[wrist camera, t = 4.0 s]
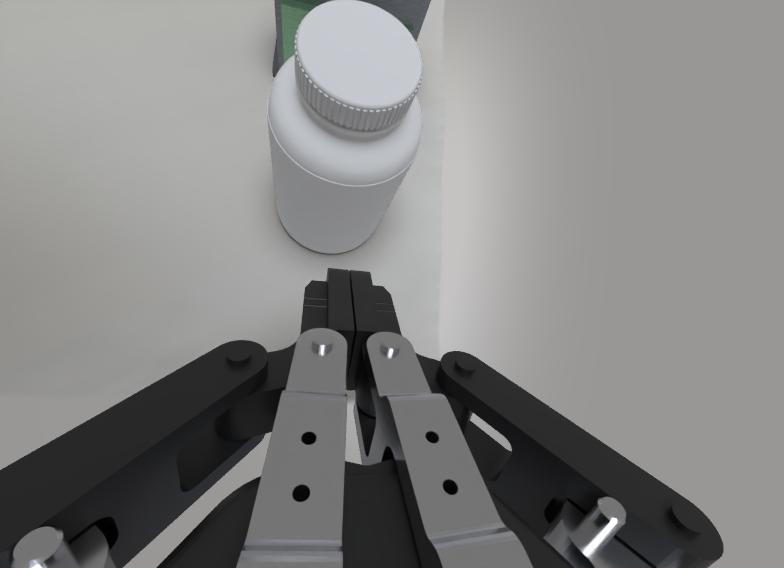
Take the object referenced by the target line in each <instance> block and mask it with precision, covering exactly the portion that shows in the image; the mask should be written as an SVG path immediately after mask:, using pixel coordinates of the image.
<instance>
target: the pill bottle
mask: <svg viewBox="0 0 784 568" xmlns="http://www.w3.org/2000/svg"><path fill="white" fill-rule="evenodd" d="M422 70H423V65H422V58H421V54H420V51H419V48H418V45H417V43H416V41H415V39H414V38H413V36H412V35H411V33H410V32H409V31H408V29H407V28H406V27H405V26H404V25H403V24H402V23H401V22H400V21H399V20H398V19H397V18H395V17H394V16H393V15H391V14H390V13H388V12H387V11H385V10H383V9H381V8H379V7H377V6H375V5H372V4H369V3H366V2H362V1H357V0H334V1H329V2H326V3H323V4H321V5H319V6H317V7H315V8H314V9H313V10H311V11H310V12H309V13H308V14H307V15H306V16H305V17H304V19H303V20H302V21H301V24H299V26H298V29H297V32H296V35H295V55H293V56H292V57H291V58H289V59H288V60H287V61H286V62H285V63H284V64H283V66H282V67H281V68H280V70H279V71H278V73H277V74H276V76H275V78H274V80H273V83H272V86H271V88H270V91H269V95H268V101H267V118H268V128H269V138H270V148H271V158H272V168H273V178H274V188H275V198H276V207H277V211H278V215H279V217H280V220H281V222H282V224H283V226H284V228H285V229H286V231H287V232H288V233H289V234H290V236H291V237H292V238H293V239H295V240H296V241H297V242H298V243H300V244H301V245H303V246H305V247H306V248H309V249H311V250H314V251H317V252H321V253H328V254H336V253H343V252H347V251H350V250H352V249H355V248H356V247H358V246H360V245H361V244H363V243H364V242H365V241H366V240H367V239H368V238H369V237H370V236H371V235H372V233H373V232H374V231H375V229H376V227H377V225H378V224H379V222H380V220H381V218H382V216H383V215H384V213H385V211H386V209H387V207H388V206H389V204H390V202H391V200H392V198H393V197H394V195H395V193H396V191H397V190H398V188H399V186H400V184H401V182H402V181H403V179H404V177H405V175H406V173H407V172H408V170H409V168H410V166H411V164H412V163H413V161H414V159H415V157H416V155H417V152H418V150H419V147H420V144H421V139H422V127H423V123H422V113H421V108H420V104H419V101H418V98H417V96H416V93H417V91H418V89H419V86H420V84H421V80H422V74H423V71H422Z"/></svg>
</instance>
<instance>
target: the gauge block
mask: <svg viewBox="0 0 784 568" xmlns="http://www.w3.org/2000/svg"><path fill="white" fill-rule="evenodd" d="M329 1H334V0H275V16H276V32H277V39H276V46H275V54H274V61H273V76H274V77H275V76H276V74H277V73H278V71H279V70H280V68H281V67H282V66H283V64H284V63H285V62H286V61H287V60H288V59H289V58H291V57H292V56H293V55H295V35H296V32H297V29H298V26H299V24H301V21H302V20H303V19H304V17H305V16H306V15H307V14H308V13H309V12H310V11H311V10H313V9H314V8H315V7H317V6H319V5H321V4H323V3H326V2H329ZM357 1H362V2H366V3H369V4H372V5H375V6H377V7H379V8H381V9H383V10H385V11H387V12H388V13H390V14H391V15H393V16H394V17H395V18H397V19H398V20H399V21H400V22H401V23H402V24H403V25H404V26H405V27H406V28H407V29H408V31H409V32H410V33H411V35H412V36H413V38H414V39H415V41H417V38H418V35H419V33H420V30H421V27H422V24H423V21H424V18H425V16H426V13H427V10H428V7H429V4H430V1H431V0H357Z"/></svg>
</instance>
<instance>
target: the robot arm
mask: <svg viewBox="0 0 784 568" xmlns="http://www.w3.org/2000/svg"><path fill="white" fill-rule="evenodd" d="M345 384H346V390H355V392H356V400H355V405H354V418H355V424H356V430H357V435H358V442H359V448H360V453H361V460H362V465H360V464H355V463H351V462H346V461H345V442H346V417H347V395H345ZM472 413H475V414H476V415H477V416H478V417H480V418H481V419H482V420H484V421H485V422H486V423H488V424H489V425H490V426H491V427H493V428H494V429H495V430H497V431H498V432H499V433H500V434H502V435H503V436H504V437H505V438H506V439H507V440H508V441H509V443H510V444H511V447H512V452H511V451H509V450H507V449H505V448H504V447H503V446H502V445H500V444H499V443H498V442H497V441H495V440H494V439H493V438H491V437H490V436H489V435H488V434H486V433H485V432H484V431H483V430H481V429H480V428H479V427H478V426H476V425H475V424H474V423H473V422H471V421H470V418H471V416H472ZM269 432H272V434H271V438H270V443H269V447H268V451H267V455H266V459H265V463H264V468H263V472H262V475H261V476H260V477H258V478H256V479H254V480H252V481H250V482H248V483H246V484H244V485H243V486H241V487H240V488H238V489H237V490H235V491H234V492H232V493H231V494H230V495H229V496H227V497H226V498H225V499H224V500H222V501H221V502H220V503H219V504H218V505H217V507H215V508H214V509H213V510H212V511H211V512H210V513H209V514H208V515H207V516H206V518H205V519H204V520H203V521H202V522H201V523H200V524H199V525H198V526H197V527H196V528H195V529H194V530H193V531H192V532H191V533H190V534H189V535H188V536H187V537H186V538H185V539H184V540H183V541H182V542H181V543H180V544H179V546H177V547H176V548H175V549H174V550H173V551H172V552H171V554H170V555H168V557H167V558H166V559H165V560H164V561H163V562H162V563H161V564H160V565H159V566H158V567H157V568H708V567H709V566H710V565H712V564H713V563H714V562H715V561H717V560H718V559H719V558H720V557H721V556H722V554H723V542H722V540H721V537H720V535H719V533H718V531H717V530H716V528H715V526H714V525H713V524H712V522H711V521H710V520H709V519H708V518H707V516H706V515H705V514H704V513H703V512H702V511H701V510H700V509H698V508H697V507H696V506H695V505H694V504H693V503H691V502H690V501H689V500H687V499H685V498H684V497H683V496H681V495H680V494H678V493H677V492H675V491H674V490H672V489H671V488H669V487H668V486H666V485H665V484H663V483H662V482H660V481H659V480H657V479H656V478H654V477H653V476H652V475H650V474H649V473H647V472H646V471H644V470H643V469H641V468H640V467H638V466H637V465H635V464H633V463H632V462H631V461H629V460H628V459H626V458H625V457H623V456H622V455H620V454H619V453H617V452H616V451H614V450H613V449H611V448H610V447H608V446H607V445H605V444H604V443H602V442H601V441H600V440H598V439H597V438H595V437H594V436H592V435H591V434H589V433H588V432H586V431H585V430H583V429H582V428H580V427H579V426H577V425H576V424H574V423H573V422H571V421H570V420H568V419H567V418H565V417H564V416H562V415H561V414H559V413H558V412H556V411H555V410H553V409H552V408H550V407H549V406H548V405H546V404H545V403H543V402H542V401H540V400H538V399H537V398H536V397H534V396H533V395H531V394H530V393H528V392H527V391H525V390H524V389H522V388H521V387H519V386H518V385H516V384H515V383H513V382H512V381H510V380H509V379H507V378H506V377H504V376H503V375H501V374H500V373H498V372H497V371H496V370H494V369H492V368H491V367H489V366H488V365H487V364H485V363H484V362H482V361H481V360H479V359H478V358H476V357H474V356H472V355H471V354H468V353H465V352H460V351H452V352H448V353H446V354H445V355H443V357H442V358H441V361H438V360H434V359H430V358H427V357H424V356H421V355H419V354H417V353H415V351H414V349H413V346H412V344H411V343H410V342H409V341H408V340H407V339H406V338H405V337H403V336H402V335H401V331H400V327H399V324H398V320H397V316H396V312H395V309H394V305H393V301H392V298H391V294H390V293H389V292H388V291H387V290H386V289H385V288H384V287H383V286H373V284H372V279H371V274H370V272H365V271H355V270H350V271H349V270H343V269H333V268H328V272H327V280H326V282H325V281H313V280H312V281H311V282H310V283H309V284H308V285H307V286H306V287H305V294H304V304H303V314H302V324H301V333H300V336H299V337H298V339H297V341H296V342H295V343H294V344H293V345H291V346H290V347H288V348H286V349H283V350H279V351H274V352H269V353H267V351H266V349H265V348H264V347H263V346H261V345H260V344H258V343H256V342H252V341H246V340H237V341H231V342H228V343H225V344H222V345H220V346H219V347H217V348H215V349H213V350H211V351H210V352H208V353H206V354H204V355H203V356H201V357H199V358H197V359H196V360H194V361H192V362H190V363H189V364H187V365H185V366H183V367H181V368H180V369H178V370H176V371H174V372H173V373H171V374H169V375H167V376H166V377H164V378H162V379H160V380H158V381H157V382H155V383H153V384H151V385H150V386H148V387H146V388H144V389H143V390H141V391H139V392H137V393H136V394H134V395H132V396H130V397H128V398H127V399H125V400H123V401H121V402H120V403H118V404H116V405H114V406H113V407H111V408H109V409H107V410H106V411H104V412H102V413H100V414H99V415H97V416H95V417H93V418H91V419H90V420H88V421H86V422H85V423H83V424H81V425H79V426H77V427H76V428H74V429H72V430H70V431H68V432H67V433H65V434H63V435H62V436H60V437H58V438H56V439H55V440H53V441H51V442H49V443H48V444H46V445H44V446H42V447H40V448H38V449H37V450H35V451H33V452H31V453H30V454H28V455H26V456H24V457H23V458H21V459H19V460H17V461H16V462H14V463H12V464H10V465H8V466H7V467H5V468H3V469H2V470H0V568H123V567H124V566H125V565H126V564H127V563H128V562H129V561H130V560H131V559H132V558H134V557H135V556H136V555H137V554H138V553H139V552H140V551H141V550H142V549H143V548H145V547H146V546H147V545H148V544H149V543H150V542H151V541H152V540H153V539H155V538H156V537H157V536H158V535H159V534H160V533H161V532H162V531H163V530H164V529H165V528H167V526H169V525H170V524H171V523H172V522H173V521H174V520H175V519H177V518H178V517H179V516H180V515H181V514H182V513H183V512H184V511H185V510H186V509H187V508H189V507H190V506H191V505H192V504H193V503H194V502H195V501H196V500H197V499H199V498H200V497H201V496H202V495H203V494H204V493H205V492H206V491H207V490H208V489H210V487H212V486H213V485H214V484H215V483H216V482H217V481H218V480H219V479H221V478H222V477H223V476H224V475H225V474H226V473H227V472H228V471H229V470H230V469H232V467H234V466H235V465H236V464H237V463H238V462H239V461H240V460H241V459H243V458H244V457H245V456H246V455H247V454H248V453H249V452H250V451H251V450H252V449H254V448H255V447H256V446H257V445H258V444H259V443H260V442H261V441H262V439H263V438H264V436H265V434H266V433H269Z"/></svg>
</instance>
